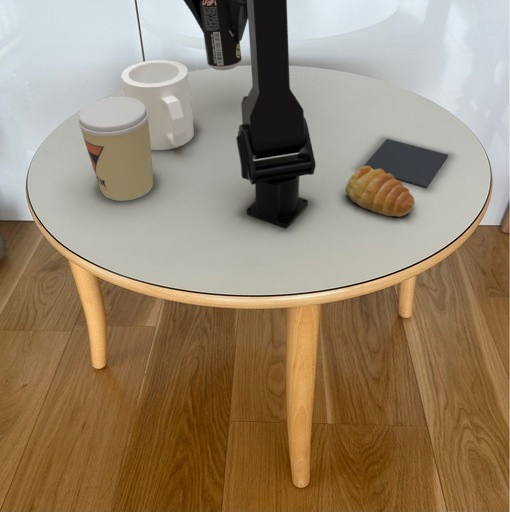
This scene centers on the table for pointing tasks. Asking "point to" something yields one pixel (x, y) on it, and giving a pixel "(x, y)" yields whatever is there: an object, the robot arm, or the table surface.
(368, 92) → the table surface
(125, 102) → the coffee cup
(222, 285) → the table surface
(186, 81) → the mug
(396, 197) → the pastry
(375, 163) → the coaster
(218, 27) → the beverage can
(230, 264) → the table surface
